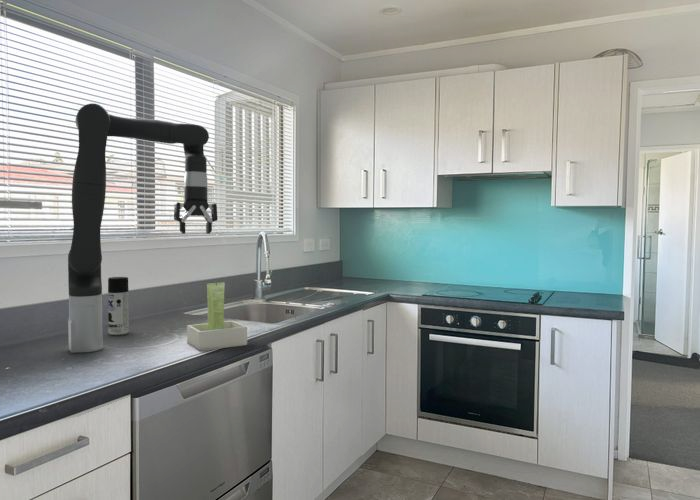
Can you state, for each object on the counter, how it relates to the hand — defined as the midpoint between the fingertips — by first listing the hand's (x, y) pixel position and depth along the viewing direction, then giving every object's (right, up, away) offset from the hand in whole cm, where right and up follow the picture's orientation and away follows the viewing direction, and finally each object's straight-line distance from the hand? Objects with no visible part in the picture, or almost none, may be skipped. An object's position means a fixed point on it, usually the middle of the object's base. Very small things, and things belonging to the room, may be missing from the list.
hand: (196, 233), depth 181 cm
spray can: (-30, -36, +8) cm, 47 cm away
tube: (+9, -36, -6) cm, 37 cm away
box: (+9, -37, -6) cm, 38 cm away
